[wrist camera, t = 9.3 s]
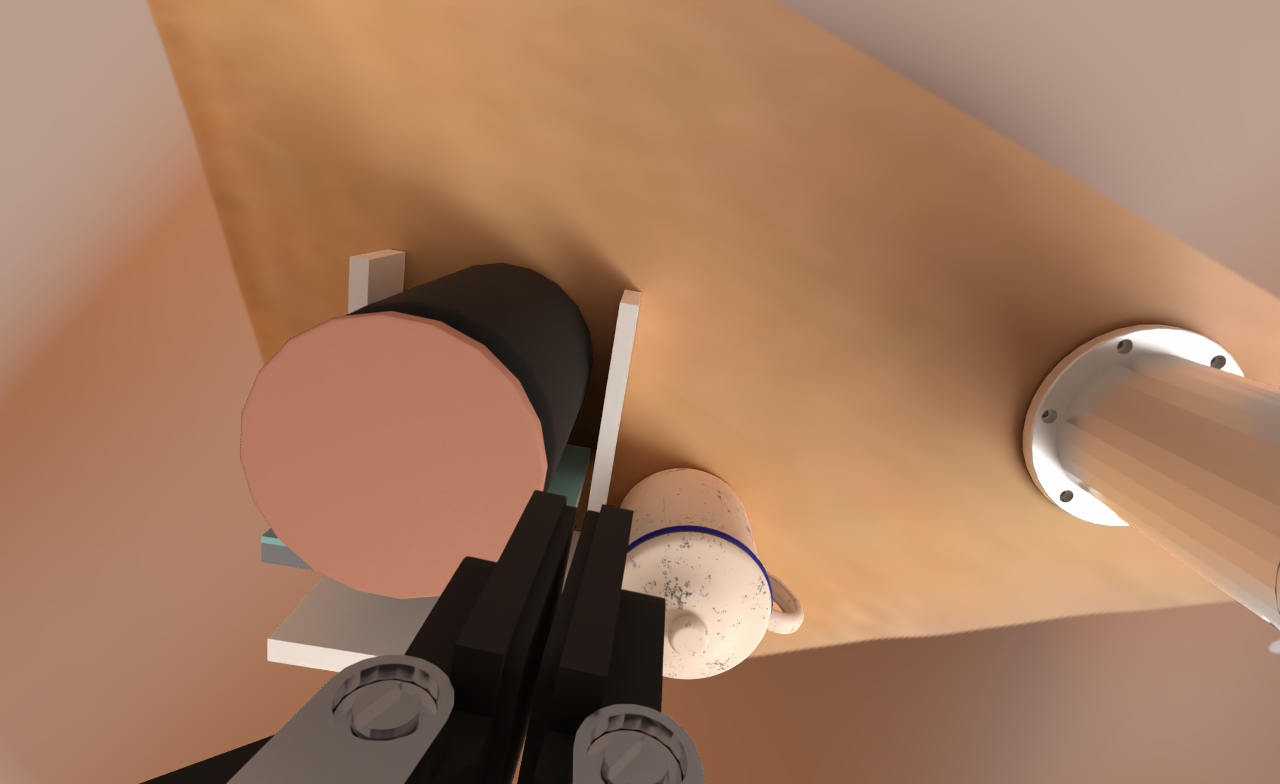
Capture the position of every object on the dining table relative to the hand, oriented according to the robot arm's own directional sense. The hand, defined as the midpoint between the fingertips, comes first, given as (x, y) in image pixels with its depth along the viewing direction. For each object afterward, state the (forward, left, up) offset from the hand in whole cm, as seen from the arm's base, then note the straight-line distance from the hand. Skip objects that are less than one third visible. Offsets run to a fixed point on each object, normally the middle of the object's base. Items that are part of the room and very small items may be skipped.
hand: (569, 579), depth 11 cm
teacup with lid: (-7, +14, -29) cm, 33 cm away
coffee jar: (+7, +4, -29) cm, 30 cm away
